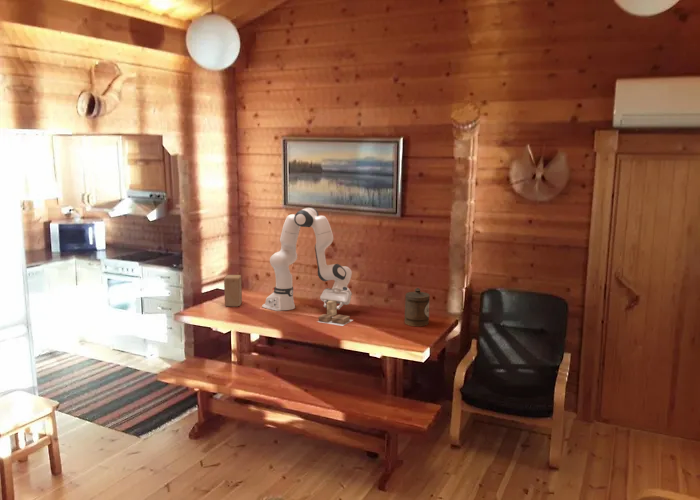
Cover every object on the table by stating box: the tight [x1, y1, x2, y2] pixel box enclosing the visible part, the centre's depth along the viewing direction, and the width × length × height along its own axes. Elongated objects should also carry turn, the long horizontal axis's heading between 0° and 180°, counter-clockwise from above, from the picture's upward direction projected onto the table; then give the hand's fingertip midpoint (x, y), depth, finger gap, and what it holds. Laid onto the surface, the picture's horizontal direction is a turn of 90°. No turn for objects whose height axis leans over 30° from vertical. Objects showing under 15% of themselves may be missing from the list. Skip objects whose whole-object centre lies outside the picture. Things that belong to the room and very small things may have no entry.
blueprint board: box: [316, 319, 354, 327], centre depth 365 cm, size 18×14×1 cm
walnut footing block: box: [318, 313, 333, 323], centre depth 365 cm, size 6×6×3 cm
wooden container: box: [404, 287, 431, 327], centre depth 364 cm, size 15×15×22 cm
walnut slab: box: [332, 313, 351, 325], centre depth 363 cm, size 8×8×3 cm
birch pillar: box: [326, 300, 338, 317], centre depth 377 cm, size 4×4×10 cm
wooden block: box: [223, 274, 243, 308], centre depth 402 cm, size 10×10×20 cm
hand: (331, 308), depth 376 cm, fingers open, 8 cm apart
